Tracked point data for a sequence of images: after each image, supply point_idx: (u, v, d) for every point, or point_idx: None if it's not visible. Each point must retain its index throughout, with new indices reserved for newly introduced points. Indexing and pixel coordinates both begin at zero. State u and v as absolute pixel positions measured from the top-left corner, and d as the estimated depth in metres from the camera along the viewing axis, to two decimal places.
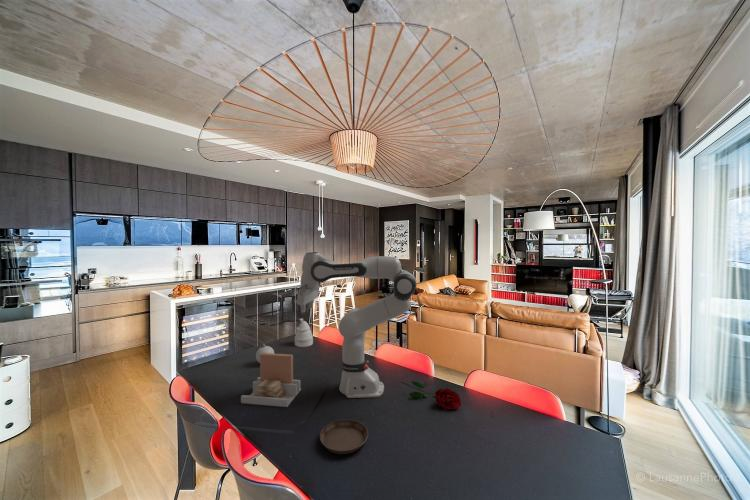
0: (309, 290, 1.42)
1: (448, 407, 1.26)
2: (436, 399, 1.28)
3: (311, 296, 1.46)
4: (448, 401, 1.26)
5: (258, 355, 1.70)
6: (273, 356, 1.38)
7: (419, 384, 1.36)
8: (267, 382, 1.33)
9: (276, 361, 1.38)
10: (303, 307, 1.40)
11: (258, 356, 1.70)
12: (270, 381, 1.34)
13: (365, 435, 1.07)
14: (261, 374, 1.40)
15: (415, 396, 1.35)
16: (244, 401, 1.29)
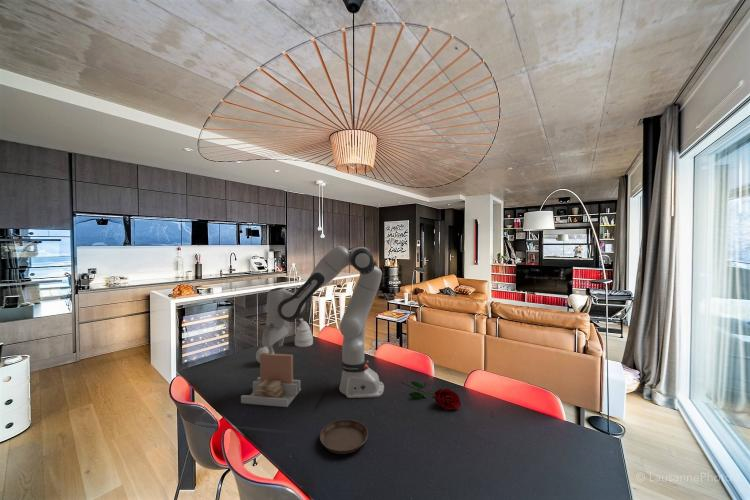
0: (275, 329, 1.35)
1: (448, 407, 1.25)
2: (436, 399, 1.28)
3: (279, 334, 1.39)
4: (448, 401, 1.25)
5: (258, 355, 1.70)
6: (273, 356, 1.38)
7: (418, 384, 1.35)
8: (267, 382, 1.33)
9: (276, 361, 1.38)
10: (270, 348, 1.33)
11: (258, 356, 1.70)
12: (270, 381, 1.34)
13: (365, 435, 1.07)
14: (261, 374, 1.40)
15: (415, 396, 1.35)
16: (244, 401, 1.29)
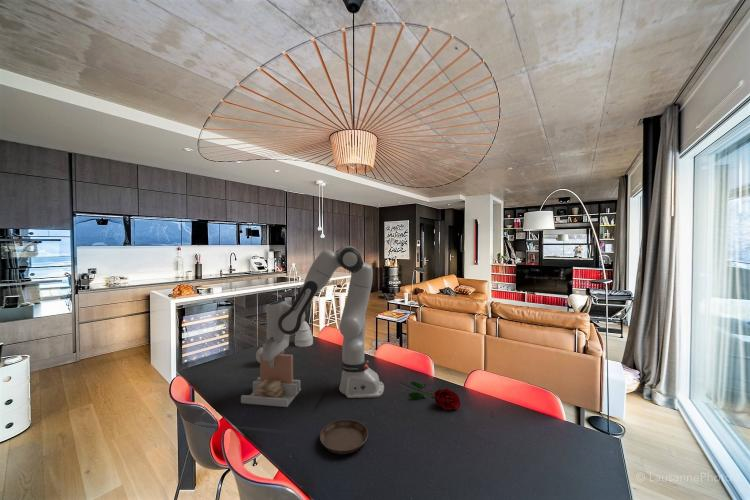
0: (276, 342, 1.35)
1: (447, 407, 1.25)
2: (435, 399, 1.27)
3: (279, 348, 1.39)
4: (447, 401, 1.25)
5: (258, 355, 1.70)
6: None
7: (418, 384, 1.35)
8: (267, 382, 1.33)
9: (276, 361, 1.38)
10: (271, 361, 1.34)
11: (258, 356, 1.70)
12: (270, 381, 1.34)
13: (365, 435, 1.07)
14: (261, 374, 1.40)
15: (414, 396, 1.35)
16: (244, 401, 1.29)
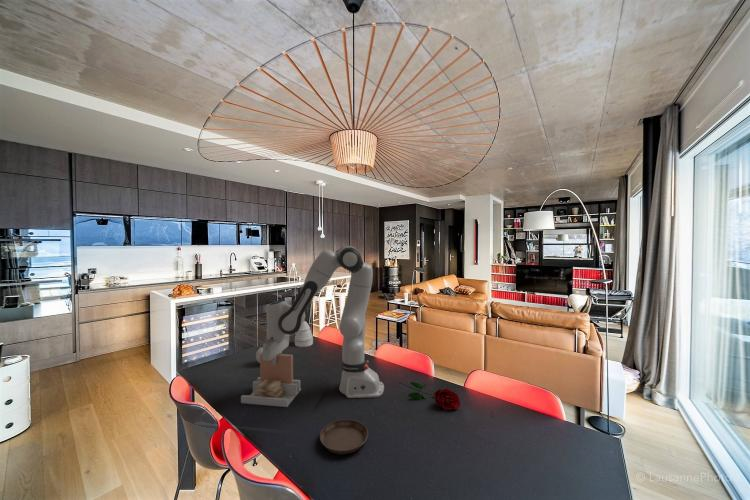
0: (276, 342, 1.35)
1: (447, 407, 1.25)
2: (435, 400, 1.27)
3: (279, 348, 1.39)
4: (447, 401, 1.25)
5: (258, 355, 1.70)
6: None
7: (417, 384, 1.35)
8: (267, 382, 1.33)
9: None
10: (274, 359, 1.36)
11: (258, 356, 1.70)
12: (270, 381, 1.34)
13: (365, 435, 1.07)
14: (261, 374, 1.40)
15: (414, 397, 1.35)
16: (244, 401, 1.29)
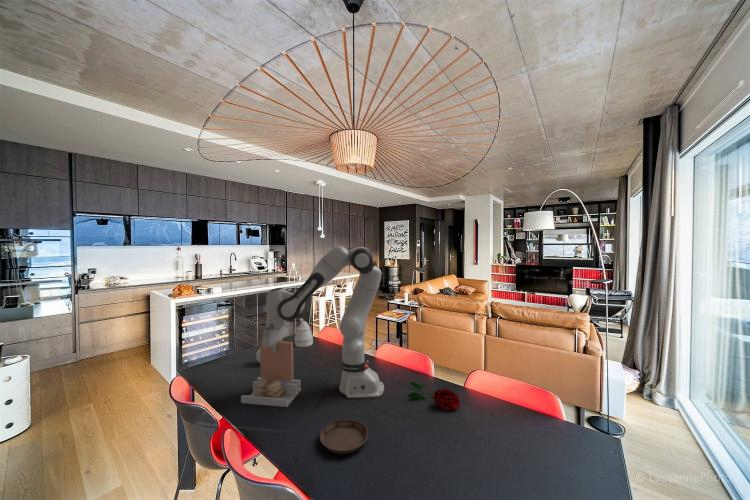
0: (275, 329, 1.35)
1: (447, 408, 1.25)
2: (435, 400, 1.27)
3: (279, 335, 1.39)
4: (447, 402, 1.25)
5: (258, 355, 1.70)
6: None
7: (417, 385, 1.35)
8: (267, 382, 1.33)
9: None
10: (274, 346, 1.36)
11: (258, 356, 1.70)
12: (270, 381, 1.34)
13: (365, 435, 1.07)
14: (261, 361, 1.39)
15: (413, 397, 1.35)
16: (244, 401, 1.29)
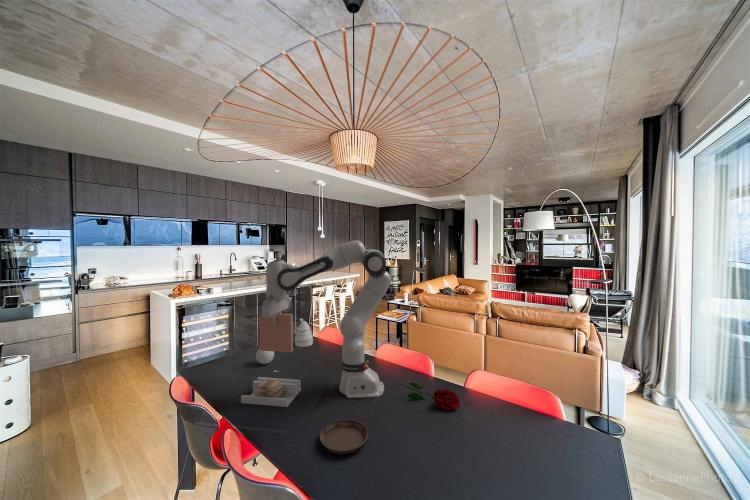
0: (275, 301, 1.35)
1: (447, 408, 1.25)
2: (435, 400, 1.27)
3: (279, 307, 1.38)
4: (447, 402, 1.25)
5: (258, 355, 1.70)
6: None
7: (417, 385, 1.34)
8: (267, 382, 1.33)
9: None
10: (273, 317, 1.36)
11: (258, 356, 1.70)
12: (270, 381, 1.34)
13: (365, 435, 1.07)
14: (261, 333, 1.39)
15: (413, 397, 1.34)
16: (244, 401, 1.29)
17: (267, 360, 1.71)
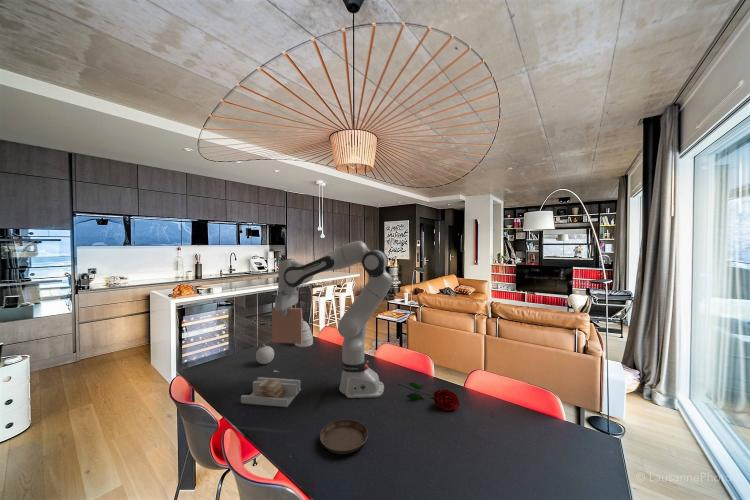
0: (287, 296, 1.46)
1: (446, 408, 1.25)
2: (434, 400, 1.27)
3: (290, 302, 1.50)
4: (446, 402, 1.25)
5: (258, 355, 1.70)
6: None
7: (416, 385, 1.34)
8: (267, 382, 1.33)
9: None
10: (285, 311, 1.47)
11: (258, 356, 1.70)
12: (270, 381, 1.34)
13: (365, 435, 1.07)
14: (273, 326, 1.51)
15: (413, 398, 1.34)
16: (244, 401, 1.29)
17: (267, 360, 1.71)
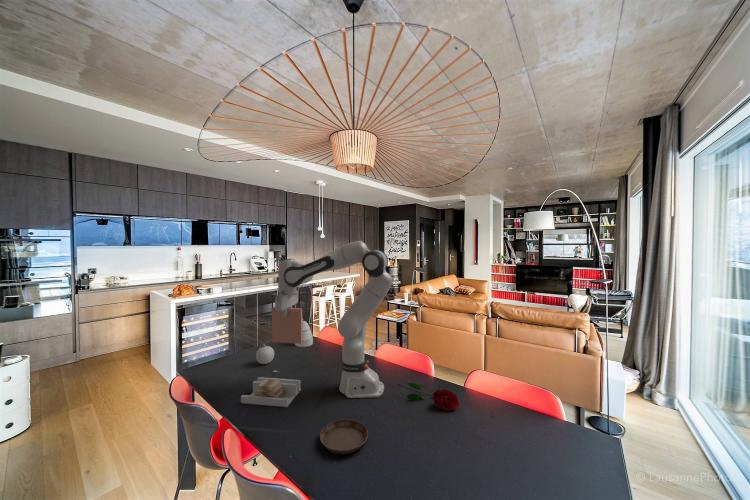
0: (287, 296, 1.46)
1: (446, 408, 1.25)
2: (434, 400, 1.27)
3: (290, 302, 1.50)
4: (446, 402, 1.25)
5: (258, 355, 1.70)
6: None
7: (416, 385, 1.34)
8: (267, 382, 1.33)
9: None
10: (285, 311, 1.47)
11: (258, 356, 1.70)
12: (270, 381, 1.34)
13: (365, 435, 1.07)
14: (273, 326, 1.51)
15: (412, 398, 1.34)
16: (244, 401, 1.29)
17: (267, 360, 1.71)
